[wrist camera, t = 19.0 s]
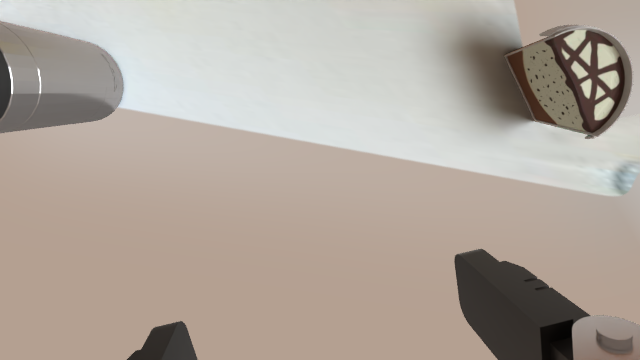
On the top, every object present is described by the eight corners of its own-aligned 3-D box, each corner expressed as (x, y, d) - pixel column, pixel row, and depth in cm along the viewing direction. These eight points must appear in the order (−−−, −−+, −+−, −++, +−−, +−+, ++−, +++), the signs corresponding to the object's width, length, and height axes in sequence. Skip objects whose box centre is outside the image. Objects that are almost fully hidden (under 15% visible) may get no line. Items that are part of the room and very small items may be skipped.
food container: (583, 105, 47) (656, 108, 37) (539, 131, 47) (600, 141, 37) (544, 15, 44) (612, -6, 34) (498, 44, 45) (552, 30, 35)
